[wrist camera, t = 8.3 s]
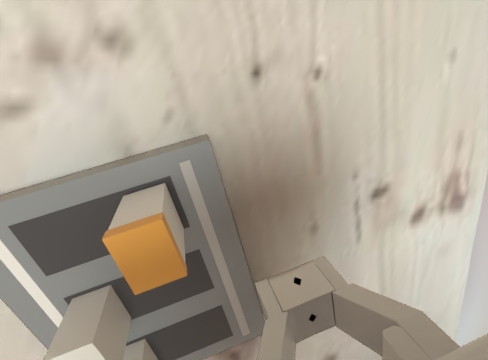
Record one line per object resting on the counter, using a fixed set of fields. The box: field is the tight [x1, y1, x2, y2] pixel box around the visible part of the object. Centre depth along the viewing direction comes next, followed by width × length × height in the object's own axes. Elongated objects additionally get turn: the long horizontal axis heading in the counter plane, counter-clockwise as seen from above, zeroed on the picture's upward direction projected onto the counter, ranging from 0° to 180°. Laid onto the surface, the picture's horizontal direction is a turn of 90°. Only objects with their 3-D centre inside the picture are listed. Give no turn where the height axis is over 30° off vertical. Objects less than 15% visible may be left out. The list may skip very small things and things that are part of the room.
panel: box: [0, 135, 265, 360], centre depth 20 cm, size 18×22×7 cm
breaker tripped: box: [102, 183, 187, 295], centre depth 16 cm, size 3×4×5 cm
